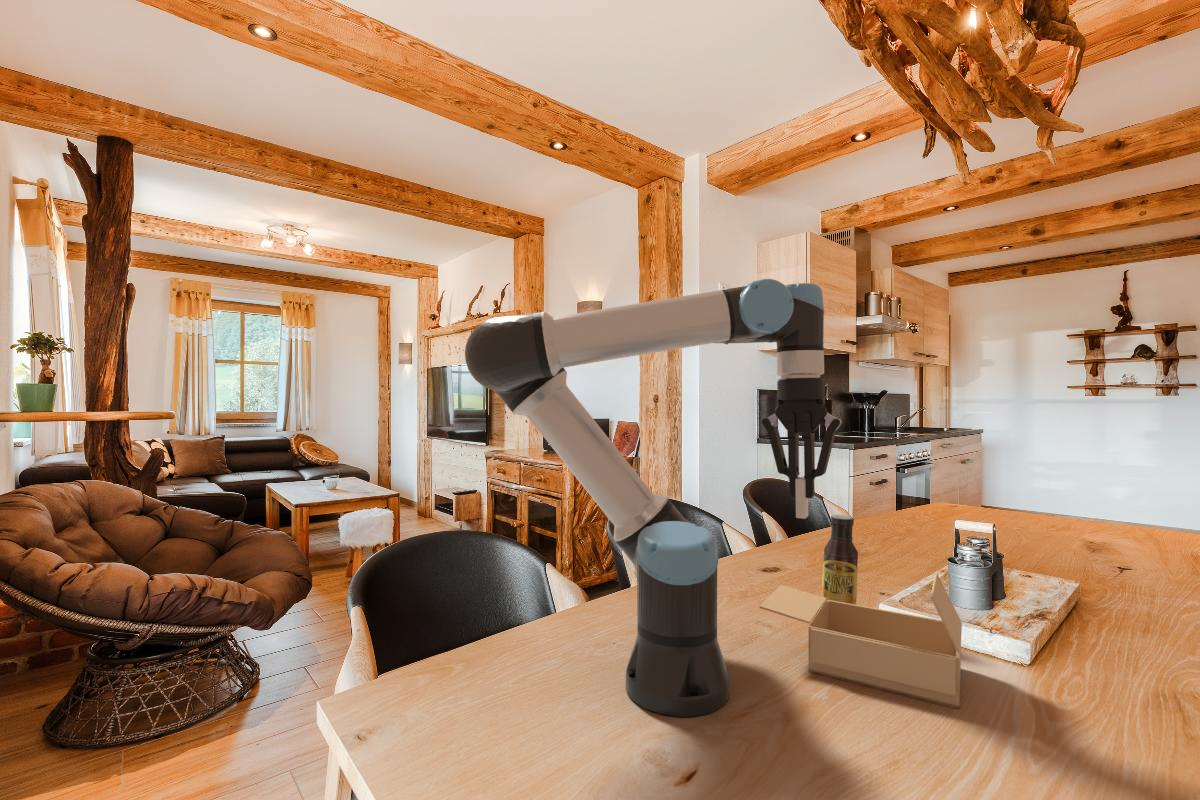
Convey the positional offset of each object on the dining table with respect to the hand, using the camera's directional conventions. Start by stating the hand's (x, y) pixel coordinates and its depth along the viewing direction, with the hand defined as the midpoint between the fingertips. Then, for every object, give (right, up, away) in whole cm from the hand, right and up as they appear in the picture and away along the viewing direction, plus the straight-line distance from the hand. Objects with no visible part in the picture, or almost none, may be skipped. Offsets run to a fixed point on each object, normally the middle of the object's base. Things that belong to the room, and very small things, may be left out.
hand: (802, 516), depth 97 cm
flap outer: (+19, -15, -12) cm, 27 cm away
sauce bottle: (+12, -23, +14) cm, 29 cm away
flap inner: (+2, -15, -2) cm, 16 cm away
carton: (+11, -23, -7) cm, 26 cm away
